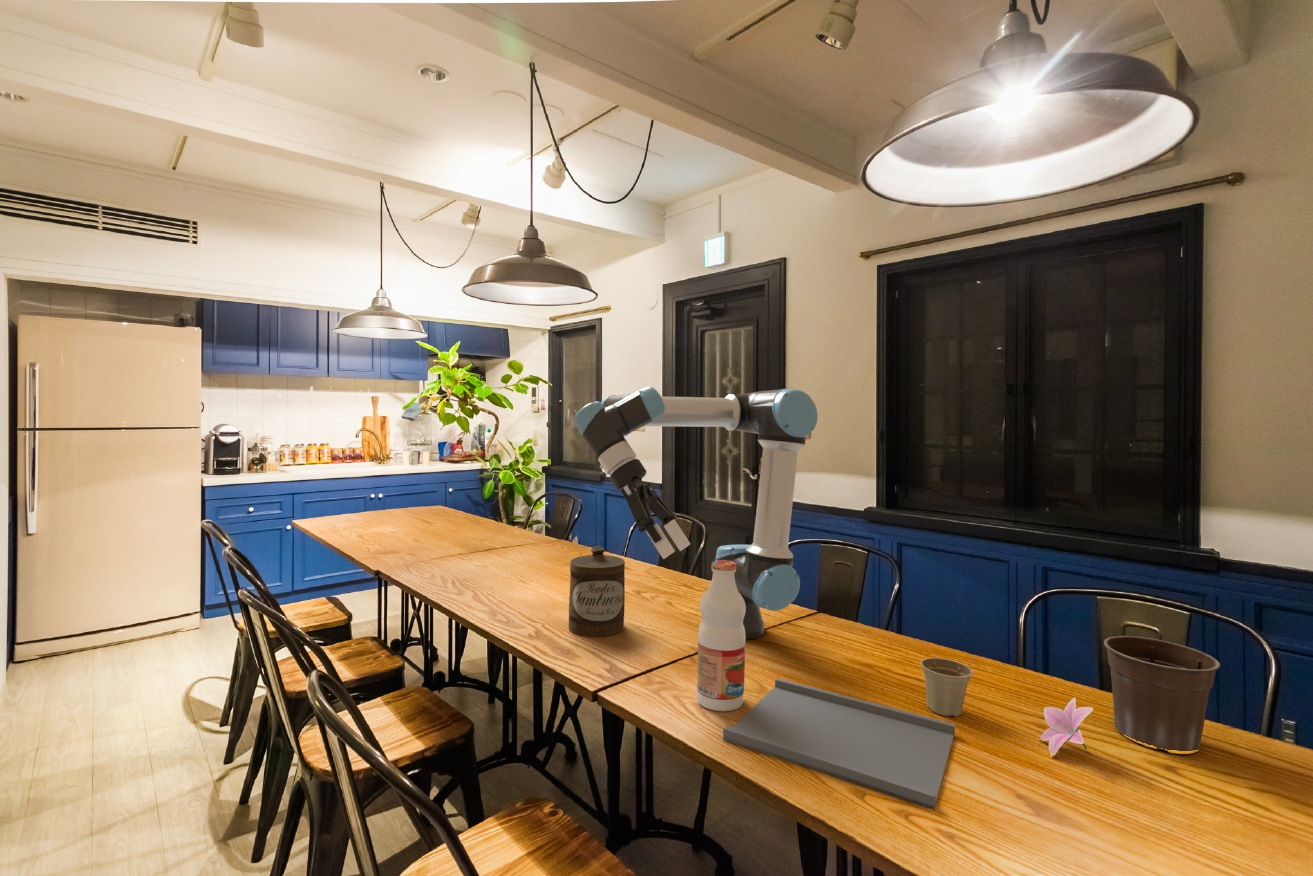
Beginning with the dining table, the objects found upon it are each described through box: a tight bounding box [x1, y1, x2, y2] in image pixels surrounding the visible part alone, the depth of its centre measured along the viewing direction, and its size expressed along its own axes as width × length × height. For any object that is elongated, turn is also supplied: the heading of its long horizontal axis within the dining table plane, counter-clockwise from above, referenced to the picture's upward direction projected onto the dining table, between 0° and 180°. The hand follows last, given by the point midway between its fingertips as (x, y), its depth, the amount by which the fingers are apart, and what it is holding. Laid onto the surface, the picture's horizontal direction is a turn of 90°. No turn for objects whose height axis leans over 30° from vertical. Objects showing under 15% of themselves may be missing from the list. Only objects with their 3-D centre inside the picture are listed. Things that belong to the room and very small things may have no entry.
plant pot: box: [1103, 635, 1221, 751], centre depth 111 cm, size 16×16×16 cm
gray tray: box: [722, 677, 956, 811], centre depth 108 cm, size 34×26×2 cm
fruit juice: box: [696, 560, 747, 712], centre depth 120 cm, size 9×9×28 cm
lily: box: [1039, 697, 1094, 756], centre depth 106 cm, size 11×11×9 cm
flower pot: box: [920, 657, 974, 717], centre depth 120 cm, size 9×9×9 cm
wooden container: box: [568, 545, 626, 638], centre depth 162 cm, size 15×15×22 cm
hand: (677, 551), depth 125 cm, fingers open, 13 cm apart
